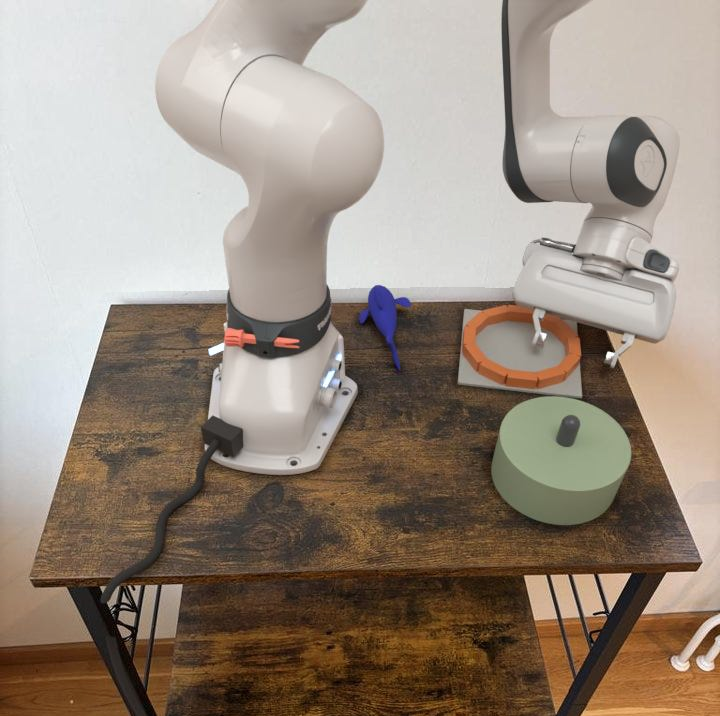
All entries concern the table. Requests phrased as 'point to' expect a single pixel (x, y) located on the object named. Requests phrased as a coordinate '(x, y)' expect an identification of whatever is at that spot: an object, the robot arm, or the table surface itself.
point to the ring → (516, 376)
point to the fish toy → (384, 314)
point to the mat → (518, 356)
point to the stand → (559, 460)
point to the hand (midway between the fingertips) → (572, 356)
